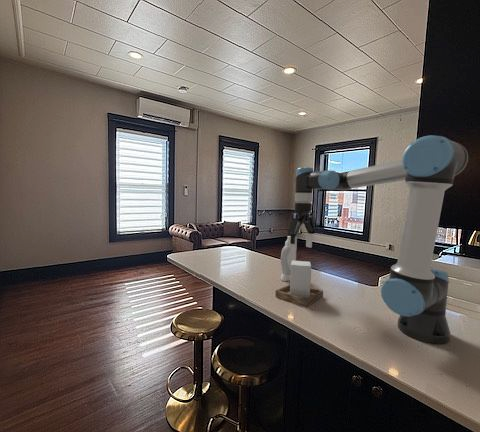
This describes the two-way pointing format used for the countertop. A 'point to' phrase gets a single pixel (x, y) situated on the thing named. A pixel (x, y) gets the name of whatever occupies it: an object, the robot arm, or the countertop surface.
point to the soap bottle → (287, 260)
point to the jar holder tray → (285, 294)
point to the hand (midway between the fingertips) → (301, 249)
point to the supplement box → (300, 279)
